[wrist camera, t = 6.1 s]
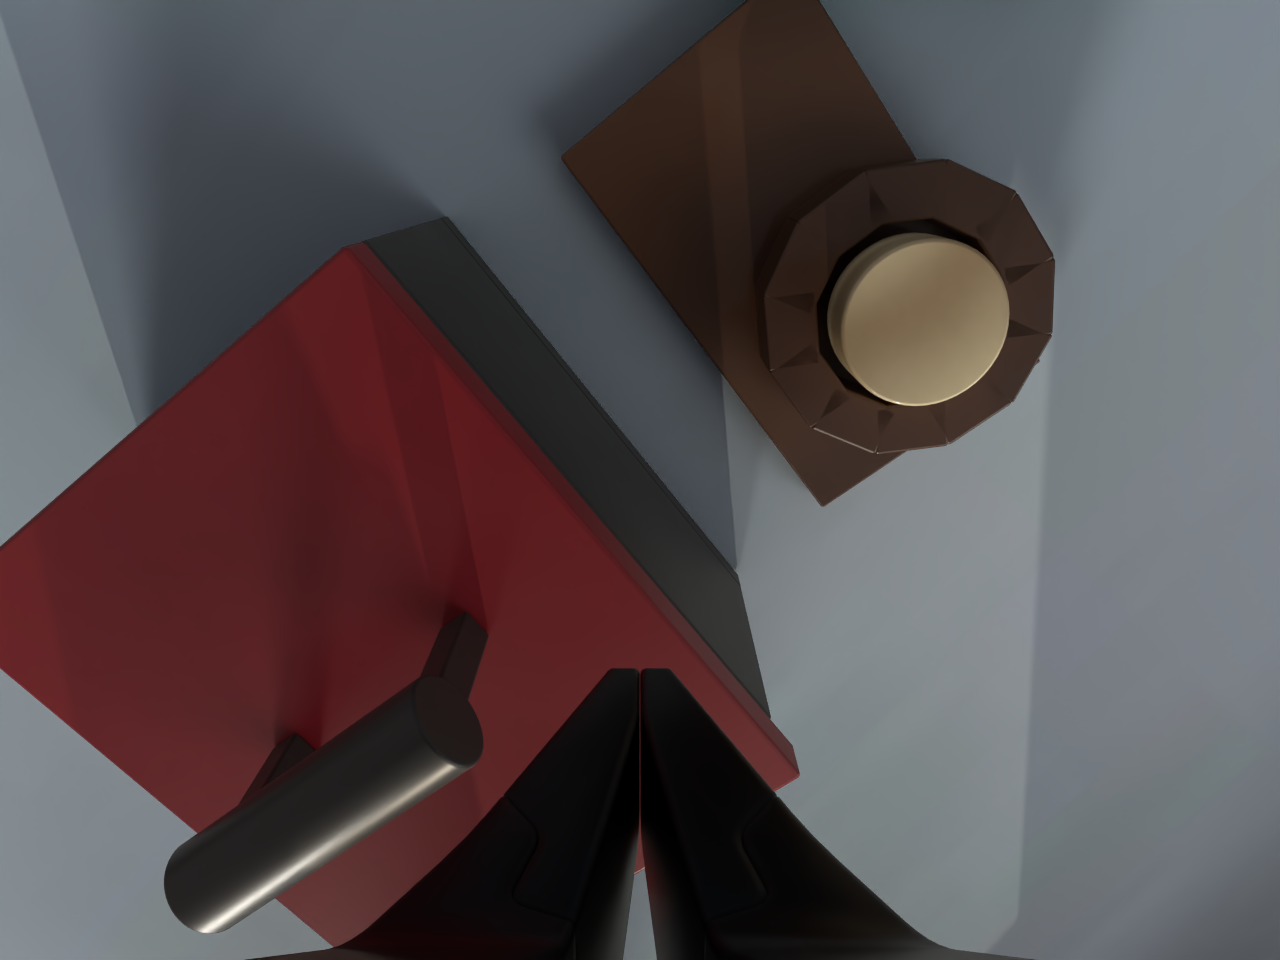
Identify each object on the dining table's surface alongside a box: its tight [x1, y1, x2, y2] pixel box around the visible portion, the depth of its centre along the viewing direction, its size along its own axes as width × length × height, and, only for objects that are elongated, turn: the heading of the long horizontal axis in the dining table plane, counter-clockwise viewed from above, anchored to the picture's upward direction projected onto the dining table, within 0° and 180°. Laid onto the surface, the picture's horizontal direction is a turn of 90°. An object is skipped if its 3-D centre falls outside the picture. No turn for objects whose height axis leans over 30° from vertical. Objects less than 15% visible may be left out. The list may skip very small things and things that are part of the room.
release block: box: [561, 0, 1055, 507], centre depth 20 cm, size 11×8×2 cm
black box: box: [362, 217, 771, 719], centre depth 21 cm, size 12×11×7 cm
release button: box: [827, 232, 1009, 406], centre depth 19 cm, size 4×4×2 cm
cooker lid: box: [0, 242, 800, 947], centre depth 15 cm, size 13×11×5 cm
